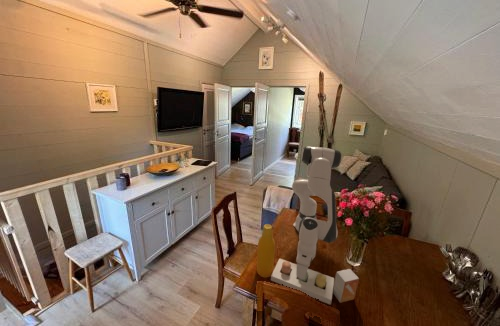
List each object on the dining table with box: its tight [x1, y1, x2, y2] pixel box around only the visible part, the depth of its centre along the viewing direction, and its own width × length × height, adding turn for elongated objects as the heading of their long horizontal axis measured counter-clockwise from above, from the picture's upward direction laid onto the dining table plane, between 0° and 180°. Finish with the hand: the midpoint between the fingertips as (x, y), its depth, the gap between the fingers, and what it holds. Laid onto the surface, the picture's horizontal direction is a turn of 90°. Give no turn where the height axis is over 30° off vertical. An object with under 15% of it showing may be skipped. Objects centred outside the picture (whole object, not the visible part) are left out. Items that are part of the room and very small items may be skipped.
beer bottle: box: [256, 223, 276, 279], centre depth 112 cm, size 9×9×29 cm
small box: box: [332, 268, 360, 304], centre depth 101 cm, size 8×6×13 cm
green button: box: [297, 272, 308, 283], centre depth 109 cm, size 5×5×4 cm
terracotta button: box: [281, 260, 291, 276], centre depth 113 cm, size 5×5×4 cm
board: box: [270, 258, 335, 306], centre depth 110 cm, size 14×30×3 cm, turn 64°
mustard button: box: [315, 273, 326, 289], centre depth 105 cm, size 5×5×4 cm
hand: (303, 272), depth 108 cm, fingers closed, pressing on green button
